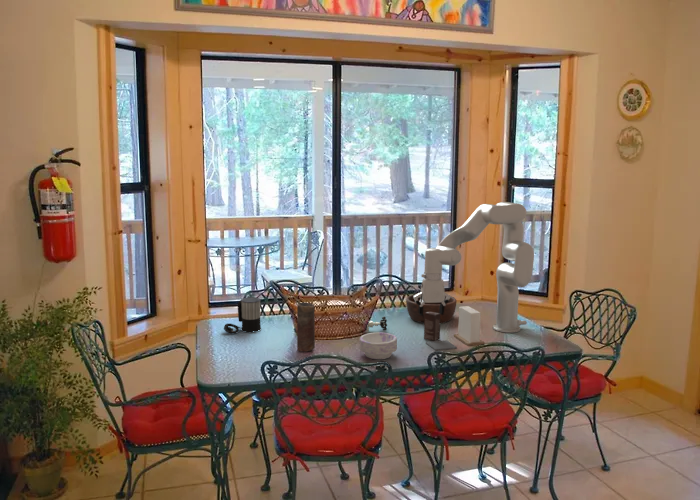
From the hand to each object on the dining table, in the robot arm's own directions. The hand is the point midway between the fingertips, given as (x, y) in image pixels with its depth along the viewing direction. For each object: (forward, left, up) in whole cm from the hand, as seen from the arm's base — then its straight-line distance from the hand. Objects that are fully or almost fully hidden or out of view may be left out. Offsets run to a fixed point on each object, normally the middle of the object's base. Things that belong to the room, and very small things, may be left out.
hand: (431, 314), depth 265 cm
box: (-1, 0, -12) cm, 12 cm away
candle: (+56, 0, -12) cm, 58 cm away
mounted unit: (-16, +6, -11) cm, 20 cm away
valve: (+21, -20, -12) cm, 31 cm away
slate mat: (-1, +10, -11) cm, 15 cm away
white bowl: (+29, +15, -12) cm, 35 cm away
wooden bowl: (-14, -32, -12) cm, 37 cm away
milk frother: (+80, -35, -12) cm, 88 cm away
